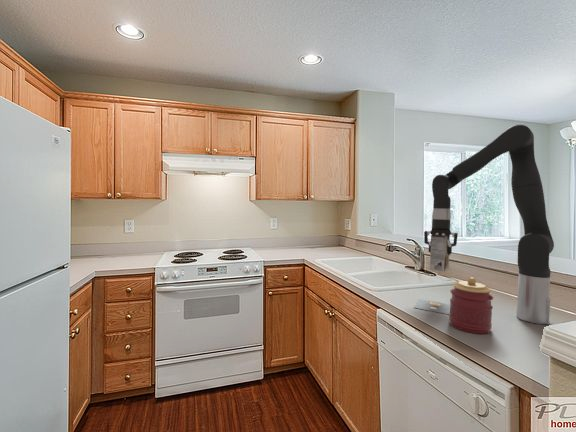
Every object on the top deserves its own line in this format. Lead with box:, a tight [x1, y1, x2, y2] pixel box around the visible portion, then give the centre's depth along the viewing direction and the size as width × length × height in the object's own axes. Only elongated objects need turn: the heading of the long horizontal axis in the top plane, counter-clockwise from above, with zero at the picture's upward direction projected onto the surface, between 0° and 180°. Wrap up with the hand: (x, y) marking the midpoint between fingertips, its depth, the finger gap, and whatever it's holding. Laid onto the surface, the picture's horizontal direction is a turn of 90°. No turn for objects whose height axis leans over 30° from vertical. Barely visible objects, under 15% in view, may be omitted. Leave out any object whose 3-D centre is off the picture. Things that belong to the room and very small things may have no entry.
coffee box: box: [429, 234, 451, 273], centre depth 137 cm, size 9×6×16 cm
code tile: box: [413, 298, 450, 315], centre depth 125 cm, size 14×14×1 cm
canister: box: [448, 277, 494, 335], centre depth 105 cm, size 13×13×18 cm
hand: (439, 254), depth 137 cm, fingers closed on coffee box, 7 cm apart
